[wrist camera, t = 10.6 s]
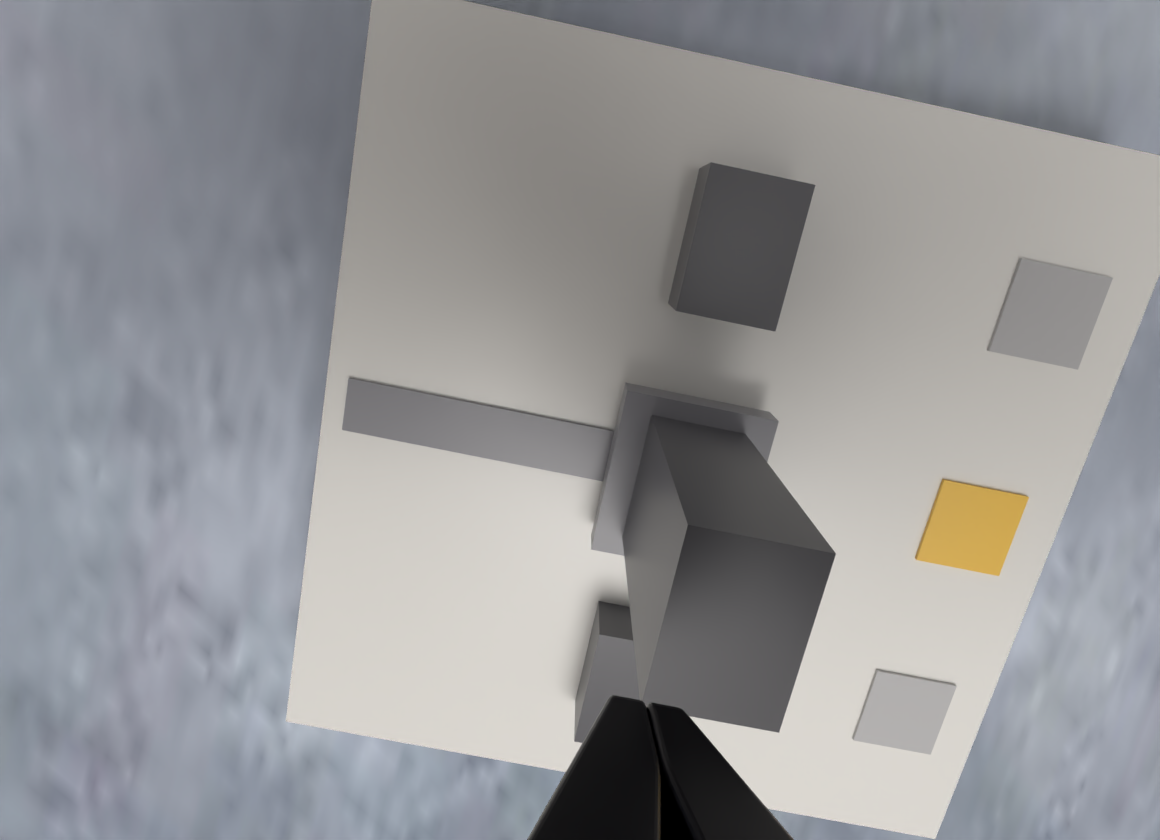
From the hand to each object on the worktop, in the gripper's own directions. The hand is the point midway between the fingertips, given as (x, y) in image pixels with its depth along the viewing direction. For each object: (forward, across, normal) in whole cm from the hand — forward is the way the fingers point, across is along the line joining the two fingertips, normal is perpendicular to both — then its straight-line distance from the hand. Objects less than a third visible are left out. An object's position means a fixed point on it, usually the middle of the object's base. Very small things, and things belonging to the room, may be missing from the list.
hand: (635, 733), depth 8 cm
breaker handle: (+9, -1, 0) cm, 9 cm away
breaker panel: (+12, -2, 0) cm, 12 cm away
